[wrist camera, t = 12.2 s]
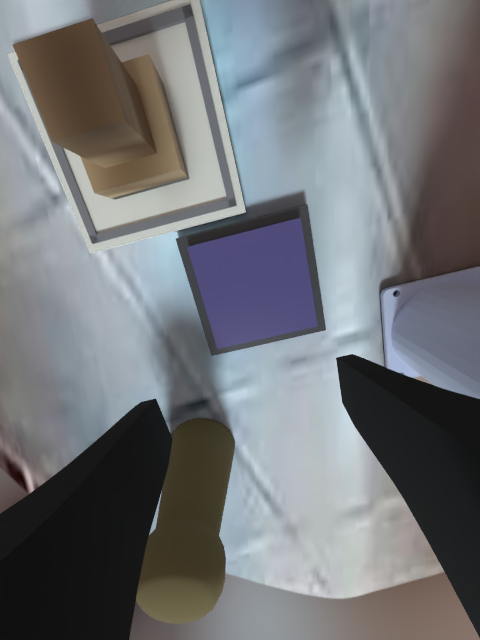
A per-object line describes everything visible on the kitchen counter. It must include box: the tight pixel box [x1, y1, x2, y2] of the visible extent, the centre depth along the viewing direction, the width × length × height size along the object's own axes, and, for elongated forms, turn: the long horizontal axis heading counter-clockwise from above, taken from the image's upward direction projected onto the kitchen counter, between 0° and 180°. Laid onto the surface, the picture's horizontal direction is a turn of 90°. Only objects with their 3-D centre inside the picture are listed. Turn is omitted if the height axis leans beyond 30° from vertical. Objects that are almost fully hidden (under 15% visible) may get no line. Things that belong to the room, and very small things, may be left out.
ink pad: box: [176, 205, 326, 356], centre depth 18 cm, size 9×9×1 cm
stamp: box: [13, 19, 189, 200], centre depth 12 cm, size 5×5×6 cm
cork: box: [136, 418, 235, 624], centre depth 18 cm, size 6×6×11 cm
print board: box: [7, 0, 246, 253], centre depth 16 cm, size 11×11×1 cm
